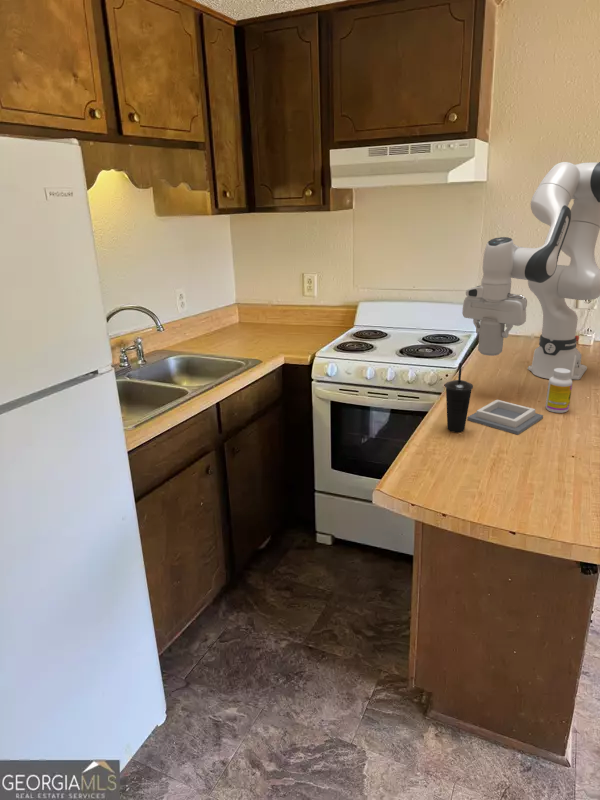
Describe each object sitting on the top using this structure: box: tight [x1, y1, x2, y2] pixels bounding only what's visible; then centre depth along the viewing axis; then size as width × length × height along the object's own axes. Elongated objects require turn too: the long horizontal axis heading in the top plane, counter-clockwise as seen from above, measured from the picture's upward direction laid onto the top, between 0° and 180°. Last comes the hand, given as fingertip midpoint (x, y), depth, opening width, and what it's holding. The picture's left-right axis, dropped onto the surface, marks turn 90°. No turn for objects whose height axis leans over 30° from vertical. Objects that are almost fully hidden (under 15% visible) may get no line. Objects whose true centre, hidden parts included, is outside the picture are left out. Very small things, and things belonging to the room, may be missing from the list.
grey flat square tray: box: [466, 399, 544, 436], centre depth 171 cm, size 16×16×3 cm
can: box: [477, 317, 506, 356], centre depth 183 cm, size 8×8×12 cm
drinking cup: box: [444, 362, 474, 433], centre depth 163 cm, size 8×8×20 cm
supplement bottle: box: [545, 368, 573, 414], centre depth 175 cm, size 7×7×13 cm
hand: (491, 335), depth 183 cm, fingers closed on can, 7 cm apart
